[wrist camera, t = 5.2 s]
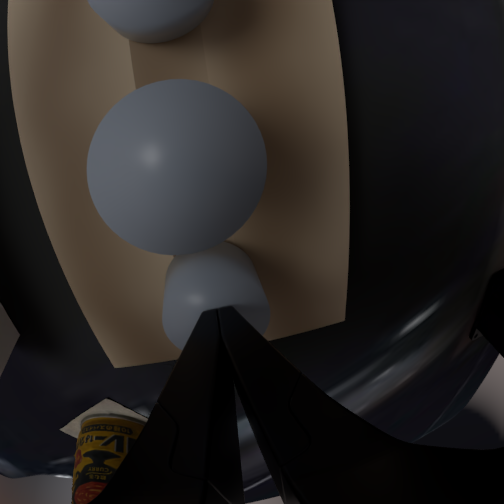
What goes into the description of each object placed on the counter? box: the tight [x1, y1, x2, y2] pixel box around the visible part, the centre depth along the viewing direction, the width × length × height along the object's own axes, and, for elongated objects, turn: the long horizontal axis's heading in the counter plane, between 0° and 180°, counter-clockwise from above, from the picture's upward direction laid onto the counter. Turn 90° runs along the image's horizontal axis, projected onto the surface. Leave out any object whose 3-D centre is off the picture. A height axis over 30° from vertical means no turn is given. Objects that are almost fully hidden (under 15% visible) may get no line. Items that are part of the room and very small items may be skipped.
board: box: [8, 0, 350, 368], centre depth 9 cm, size 10×16×2 cm, turn 7°
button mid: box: [87, 79, 267, 255], centre depth 6 cm, size 3×3×4 cm
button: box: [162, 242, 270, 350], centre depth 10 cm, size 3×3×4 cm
